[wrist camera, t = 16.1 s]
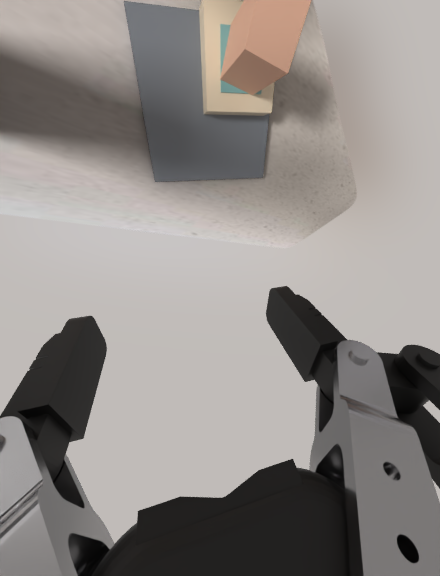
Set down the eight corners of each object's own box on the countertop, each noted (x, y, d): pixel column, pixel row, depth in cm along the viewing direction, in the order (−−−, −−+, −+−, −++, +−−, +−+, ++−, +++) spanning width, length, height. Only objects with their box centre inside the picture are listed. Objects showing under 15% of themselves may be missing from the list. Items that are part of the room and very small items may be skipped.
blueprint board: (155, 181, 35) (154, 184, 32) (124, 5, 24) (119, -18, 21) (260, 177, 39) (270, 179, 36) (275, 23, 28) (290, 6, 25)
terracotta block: (252, 95, 29) (288, 73, 21) (219, 79, 27) (244, 49, 19) (265, 45, 26) (311, -2, 18) (230, 24, 24) (264, -38, 16)
